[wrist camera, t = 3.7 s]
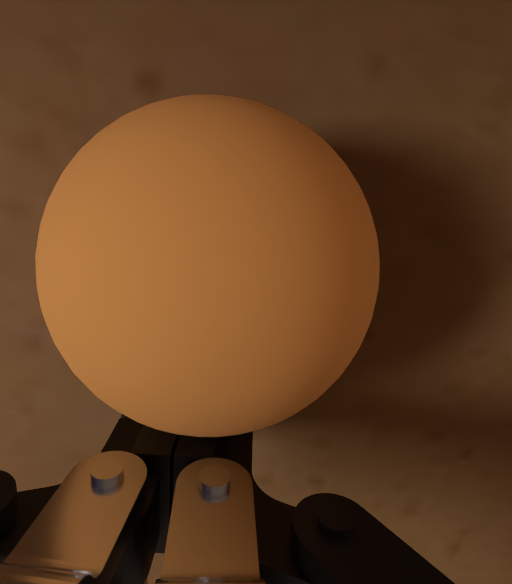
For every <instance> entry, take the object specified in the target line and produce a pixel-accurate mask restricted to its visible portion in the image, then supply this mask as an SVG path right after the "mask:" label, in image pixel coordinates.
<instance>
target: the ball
mask: <svg viewBox="0 0 512 584" xmlns="http://www.w3.org/2000/svg"><path fill="white" fill-rule="evenodd" d="M35 258H36V282H37V291H38V296H39V301H40V306H41V311H42V313H43V316H44V319H45V322H46V324H47V327H48V329H49V332H50V334H51V337H52V339H53V342H54V344H55V345H56V347H57V348H58V350H59V351H60V353H61V355H62V356H63V358H64V359H65V361H66V362H67V364H68V365H69V367H70V369H71V370H72V372H73V373H74V374H75V375H76V376H77V377H78V378H79V379H80V380H81V381H82V382H83V383H84V384H85V385H86V386H87V387H88V388H89V389H90V390H91V391H92V392H93V393H94V394H95V395H96V396H97V397H98V398H99V399H101V400H102V401H103V402H105V403H106V404H107V405H109V406H110V407H111V408H113V409H115V410H116V411H118V412H120V413H121V414H123V415H125V416H127V417H129V418H131V419H133V420H134V421H136V422H138V423H141V424H143V425H146V426H149V427H151V428H154V429H157V430H161V431H165V432H169V433H173V434H178V435H187V436H195V437H222V436H231V435H239V434H244V433H248V432H252V431H257V430H260V429H263V428H266V427H269V426H271V425H274V424H277V423H279V422H281V421H283V420H285V419H287V418H289V417H291V416H292V415H294V414H296V413H297V412H299V411H301V410H302V409H304V408H305V407H307V406H308V405H309V404H311V403H312V402H314V401H315V400H316V399H318V398H319V397H320V396H321V395H322V394H323V393H324V392H325V391H326V390H327V389H328V388H329V387H330V386H331V385H332V384H333V383H334V382H335V381H336V380H337V379H338V378H339V377H340V376H341V375H342V373H343V372H344V370H345V369H346V368H347V366H348V365H349V364H350V362H351V361H352V359H353V357H354V356H355V354H356V353H357V351H358V350H359V348H360V346H361V343H362V341H363V339H364V337H365V335H366V332H367V330H368V327H369V325H370V322H371V320H372V316H373V312H374V307H375V303H376V298H377V293H378V289H379V274H380V259H379V248H378V238H377V233H376V230H375V226H374V222H373V218H372V215H371V211H370V208H369V206H368V203H367V201H366V199H365V196H364V194H363V192H362V190H361V187H360V186H359V184H358V183H357V181H356V179H355V178H354V176H353V175H352V173H351V171H350V170H349V168H348V167H347V165H346V164H345V162H344V161H343V160H342V159H341V158H340V157H339V155H338V154H337V153H336V152H335V151H334V150H333V149H332V148H331V146H330V145H329V144H328V143H327V142H326V141H325V140H323V139H322V138H321V137H320V136H318V135H317V134H316V133H315V132H314V131H312V130H311V129H310V128H309V127H307V126H306V125H305V124H303V123H301V122H300V121H298V120H296V119H294V118H293V117H291V116H289V115H288V114H286V113H284V112H282V111H280V110H278V109H275V108H273V107H270V106H267V105H265V104H262V103H259V102H256V101H253V100H250V99H245V98H240V97H234V96H226V95H213V94H196V95H184V96H178V97H174V98H170V99H165V100H161V101H157V102H153V103H150V104H148V105H145V106H143V107H141V108H139V109H136V110H134V111H132V112H130V113H127V114H125V115H123V116H122V117H120V118H119V119H117V120H116V121H114V122H113V123H111V124H110V125H108V126H107V127H105V128H104V129H102V130H101V131H100V132H98V133H97V134H96V135H95V136H94V137H93V138H92V139H91V140H90V141H89V142H87V143H86V144H85V145H84V146H83V147H82V148H81V149H80V150H79V152H78V153H77V154H76V155H75V156H74V158H73V159H72V160H71V162H70V163H69V164H68V166H67V167H66V168H65V170H64V171H63V172H62V174H61V176H60V178H59V180H58V182H57V184H56V185H55V187H54V189H53V191H52V193H51V195H50V197H49V199H48V201H47V204H46V207H45V211H44V214H43V217H42V220H41V223H40V229H39V235H38V241H37V248H36V255H35Z"/></svg>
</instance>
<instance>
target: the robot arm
mask: <svg viewBox="0 0 512 584" xmlns="http://www.w3.org/2000/svg"><path fill="white" fill-rule="evenodd" d="M252 439H253V431H252V432H248V433H244V434H239V435H231V436H222V437H195V436H187V435H178V434H173V433H169V432H165V431H161V430H157V429H154V428H151V427H149V426H146V425H143V424H141V423H138V422H136V421H134V420H133V419H131V418H129V417H127V416H125V415H123V414H122V415H121V418H120V419H119V421H118V423H117V424H116V426H115V428H114V430H113V432H112V433H111V435H110V437H109V439H108V441H107V442H106V444H105V446H104V448H103V450H102V451H101V453H98V454H95V455H93V456H90V457H88V458H86V459H84V460H83V461H81V462H80V463H78V464H77V465H76V466H75V467H74V468H73V469H72V470H71V472H70V473H69V474H68V476H67V477H66V478H65V480H64V481H63V482H62V484H59V485H55V486H50V487H45V488H39V489H33V490H27V491H21V492H17V487H16V482H15V479H14V478H13V476H11V475H10V474H9V473H7V472H5V471H1V470H0V584H147V577H148V574H149V571H150V568H151V564H152V560H153V557H154V553H165V554H164V560H163V566H162V572H161V578H160V579H157V580H156V582H155V584H455V583H453V582H452V581H451V580H450V579H449V578H447V577H446V576H445V575H444V574H442V573H441V572H440V571H439V570H438V569H436V568H435V567H434V566H433V565H432V564H430V563H429V562H428V561H427V560H425V559H424V558H423V557H422V556H421V555H419V554H418V553H417V552H416V551H415V550H413V549H412V548H411V547H410V546H409V545H407V544H406V543H405V542H404V541H402V540H401V539H400V538H399V537H398V536H396V535H395V534H394V533H393V532H392V531H390V530H389V529H388V528H387V527H385V526H384V525H383V524H382V523H381V522H379V521H378V520H377V519H376V518H375V517H373V516H372V515H371V514H370V513H368V512H367V511H366V510H365V509H364V508H362V507H361V506H360V505H358V504H357V503H356V502H354V501H352V500H350V499H348V498H346V497H343V496H340V495H336V494H330V493H320V494H314V495H311V496H308V497H306V498H305V499H303V500H302V501H301V502H300V503H299V504H298V505H297V506H296V507H294V506H291V505H288V504H285V503H282V502H280V501H277V500H275V499H273V498H271V497H270V496H268V495H267V494H265V493H264V492H263V491H262V490H261V489H260V488H259V487H258V485H257V484H256V483H255V481H254V479H253V476H252Z"/></svg>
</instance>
